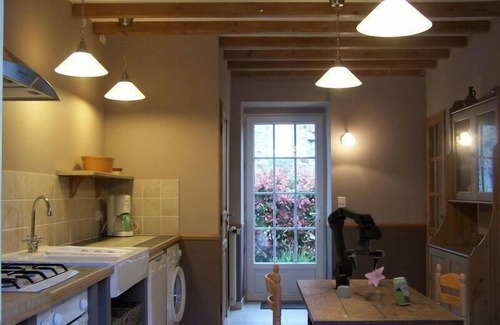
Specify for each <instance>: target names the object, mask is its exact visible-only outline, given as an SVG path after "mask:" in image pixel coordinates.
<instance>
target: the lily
mask: <svg viewBox="0 0 500 325" xmlns="http://www.w3.org/2000/svg"><path fill="white" fill-rule="evenodd" d="M384 268H385V266H382V267H380V268H378V269H377V268H376V270H375V272H374V270H372V272H368V273H366V274H365V278H367V279H368V283H367V284H372V285H374V286H375V287H378V285H379V284H380V285H382V284H381V281H380V280H383V279H385V278H386V276H384V275H383V274H382V273H383V271H384Z"/></svg>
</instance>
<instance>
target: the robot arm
mask: <svg viewBox="0 0 500 325" xmlns="http://www.w3.org/2000/svg"><path fill="white" fill-rule="evenodd" d="M347 218H348V219H349V220H353V222H354V224H356V225H358V226H356V227H355V230H358V234H357V235H358V240H357V245H356V246H355V248H354V249H353V248H351V249H349V248H348V249H347V248H346V243H345V237H344V232H343V229H344V226H345V220H347ZM327 223H328V226H329V229H331V231H332V232H333V234H332V235H333V238H334V244H335V250H336V256H337V259H336V261H335V268H334V269H333V271H332V277H334V278H335V287H334V289H335V290H338V287H339V286H351V280H350V278H351V277H352V275H353V271H354V270H355V271H357V269H358V261H357V259H358V258H357V256H374V257H373V270H374V272H375V270H376V269H377V266H378V264H379V262H380V260H381V259H383V258H384V257H386V252H385V251H384V250H378V249H377V250H373V251H372V249H371V247H372V246H371V243H372V241H379V240H381V238H382V236H383V233H382V230H381V229H380V228H379V226H378V225H377V224H376V221H375V220H374V218H373V217H372V214H371V213H367V212H359V211H356V210H353V209H351V208H348V207H346V206H344V207H343V206H341V207H338V208H337V209H336V210H334V211H332V212H331V213H330V214H329V215H328V217H327ZM373 270H372V271H373Z"/></svg>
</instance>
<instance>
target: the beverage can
mask: <svg viewBox="0 0 500 325" xmlns="http://www.w3.org/2000/svg"><path fill="white" fill-rule="evenodd" d="M392 285H393V291H394V298H395V302H396V304H397V305H399V306H404V305H405V306H406V305H408V304H410V303H411V297H410V293H409V287H408V282H407V279H406V278H405V277H404V276H399V277H394V278H393V280H392Z"/></svg>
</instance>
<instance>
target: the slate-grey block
mask: <svg viewBox="0 0 500 325" xmlns="http://www.w3.org/2000/svg"><path fill="white" fill-rule="evenodd" d="M351 297H352V286H351V285H350V286H339V287H338V289H337V298H339V299H349V298H351Z"/></svg>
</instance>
